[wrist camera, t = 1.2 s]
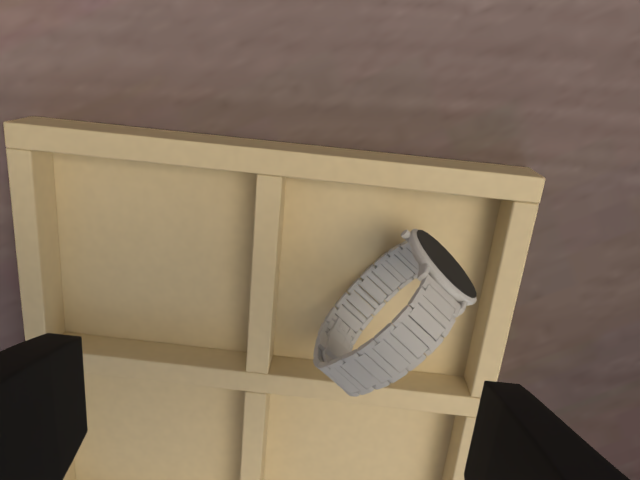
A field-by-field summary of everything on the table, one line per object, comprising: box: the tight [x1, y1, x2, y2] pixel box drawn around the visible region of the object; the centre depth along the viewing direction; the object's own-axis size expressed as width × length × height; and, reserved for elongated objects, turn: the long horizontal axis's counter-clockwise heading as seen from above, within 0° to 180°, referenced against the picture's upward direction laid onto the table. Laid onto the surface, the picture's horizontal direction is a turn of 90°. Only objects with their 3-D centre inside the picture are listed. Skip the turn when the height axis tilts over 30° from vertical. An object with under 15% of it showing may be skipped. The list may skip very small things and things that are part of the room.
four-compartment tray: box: [3, 116, 545, 480], centre depth 19 cm, size 16×16×2 cm
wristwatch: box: [313, 229, 477, 397], centre depth 16 cm, size 3×5×5 cm, turn 136°
